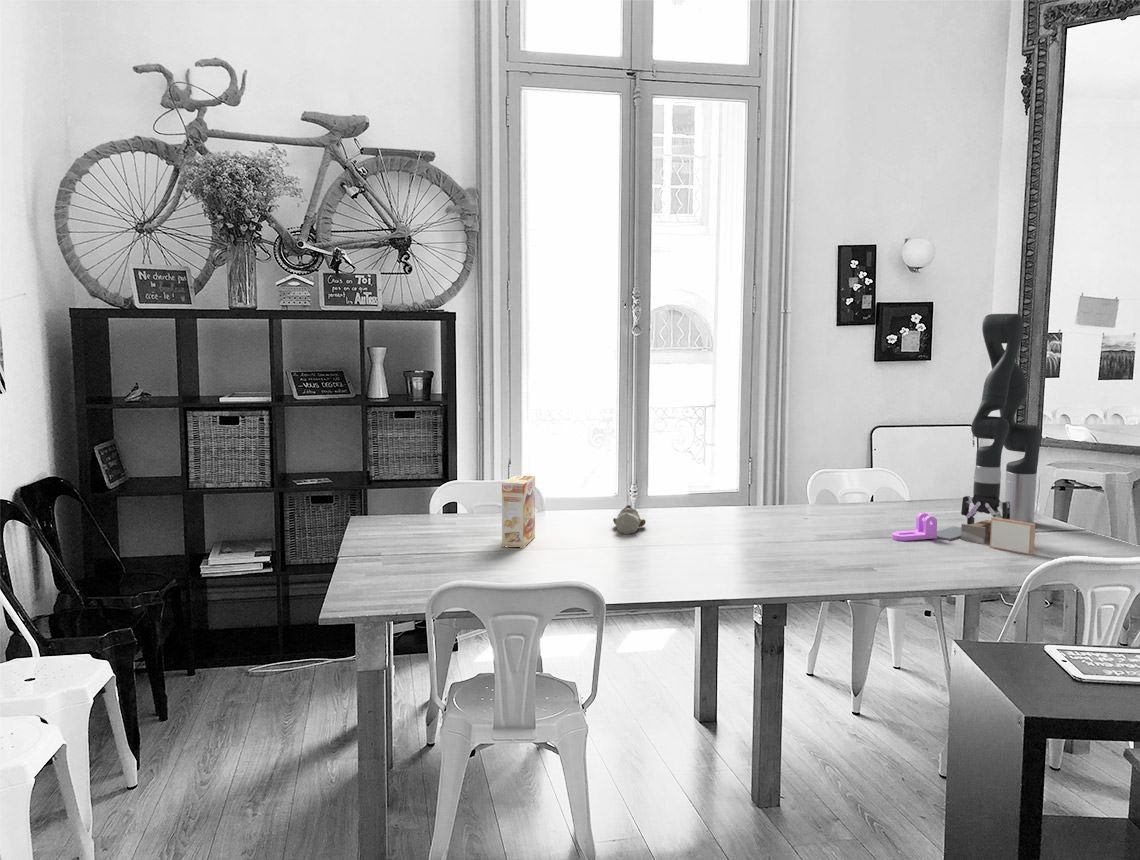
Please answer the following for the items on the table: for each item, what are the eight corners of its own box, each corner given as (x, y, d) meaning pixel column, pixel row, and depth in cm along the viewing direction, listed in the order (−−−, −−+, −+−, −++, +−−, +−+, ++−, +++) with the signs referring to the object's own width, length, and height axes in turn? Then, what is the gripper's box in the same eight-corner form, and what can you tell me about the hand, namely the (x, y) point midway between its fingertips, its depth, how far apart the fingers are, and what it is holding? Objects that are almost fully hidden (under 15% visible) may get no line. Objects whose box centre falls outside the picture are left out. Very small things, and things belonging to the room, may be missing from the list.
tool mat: (953, 528, 306) (954, 526, 306) (977, 532, 300) (978, 530, 300) (925, 536, 294) (925, 534, 294) (949, 540, 288) (949, 538, 288)
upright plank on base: (979, 534, 298) (980, 518, 297) (1001, 538, 292) (1002, 522, 292) (960, 539, 290) (961, 524, 289) (983, 544, 285) (983, 527, 284)
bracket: (927, 533, 295) (927, 512, 294) (936, 538, 290) (937, 516, 289) (888, 536, 293) (888, 515, 292) (897, 541, 288) (897, 519, 287)
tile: (992, 546, 281) (994, 517, 280) (1033, 554, 272) (1035, 523, 271) (989, 547, 280) (990, 518, 279) (1030, 555, 271) (1032, 524, 270)
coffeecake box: (524, 548, 277) (524, 483, 275) (500, 547, 278) (500, 482, 276) (536, 537, 292) (536, 475, 289) (514, 536, 293) (513, 474, 291)
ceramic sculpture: (609, 507, 294) (614, 501, 309) (609, 534, 295) (614, 527, 310) (643, 508, 293) (647, 502, 307) (643, 536, 293) (646, 528, 308)
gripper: (1015, 482, 287) (1012, 534, 289) (970, 476, 298) (968, 526, 300) (1004, 484, 282) (1001, 537, 284) (959, 478, 293) (956, 529, 295)
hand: (984, 531), depth 292 cm, fingers open, 8 cm apart
